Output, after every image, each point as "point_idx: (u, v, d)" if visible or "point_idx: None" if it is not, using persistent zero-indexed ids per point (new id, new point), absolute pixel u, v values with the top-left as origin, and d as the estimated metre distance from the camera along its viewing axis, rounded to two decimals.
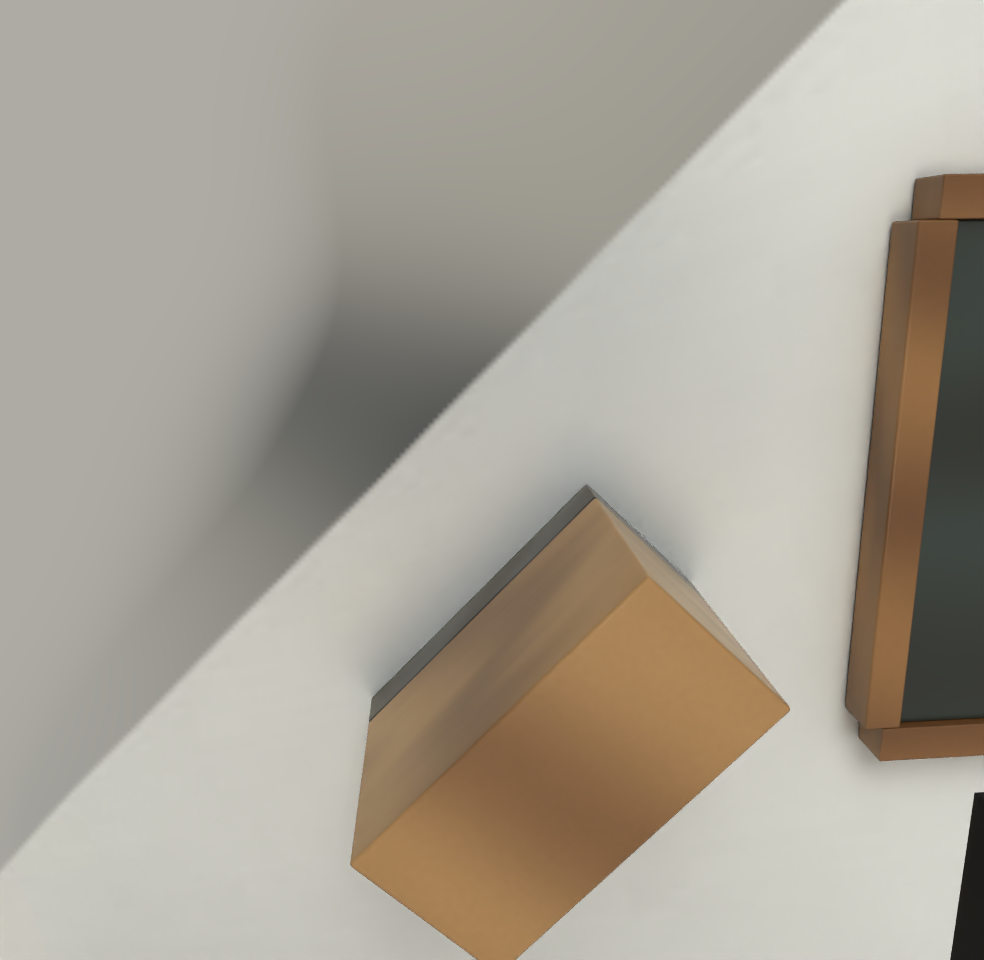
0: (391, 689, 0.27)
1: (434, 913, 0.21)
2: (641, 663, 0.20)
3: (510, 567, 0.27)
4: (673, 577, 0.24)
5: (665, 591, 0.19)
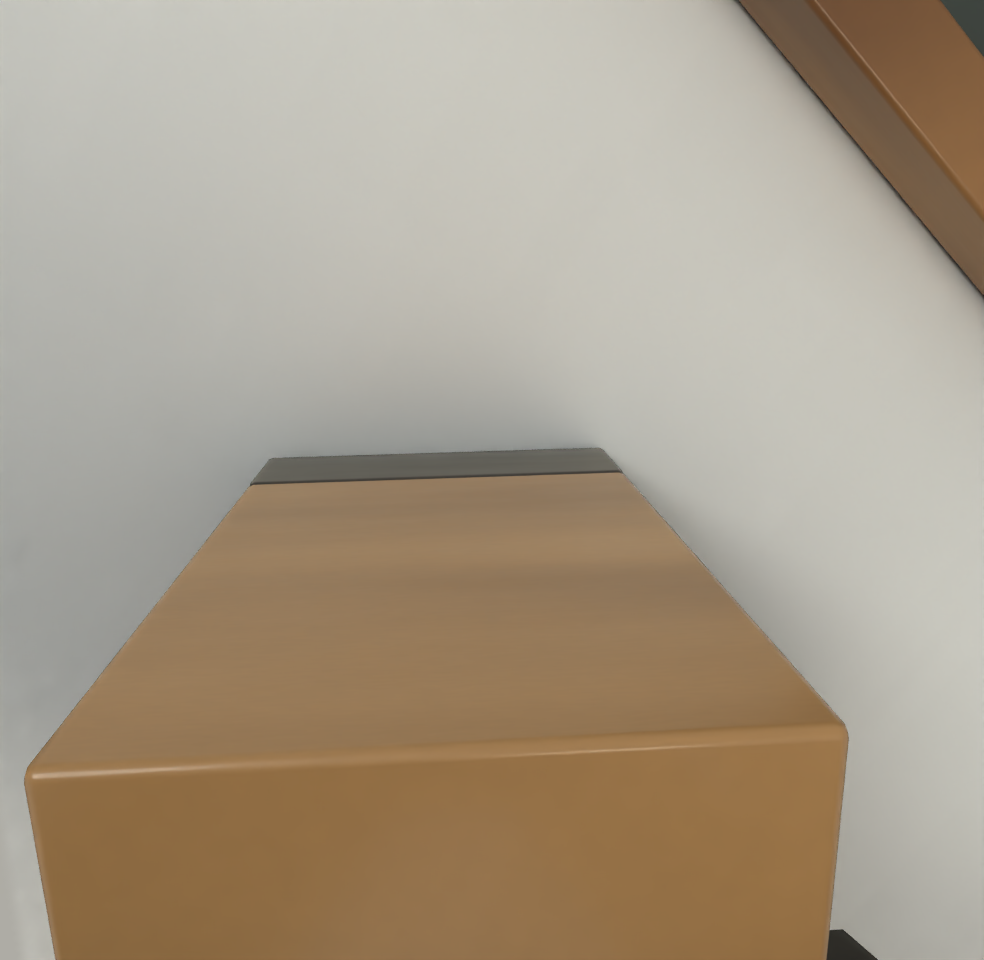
0: None
1: None
2: None
3: None
4: (451, 522, 0.09)
5: (126, 759, 0.05)
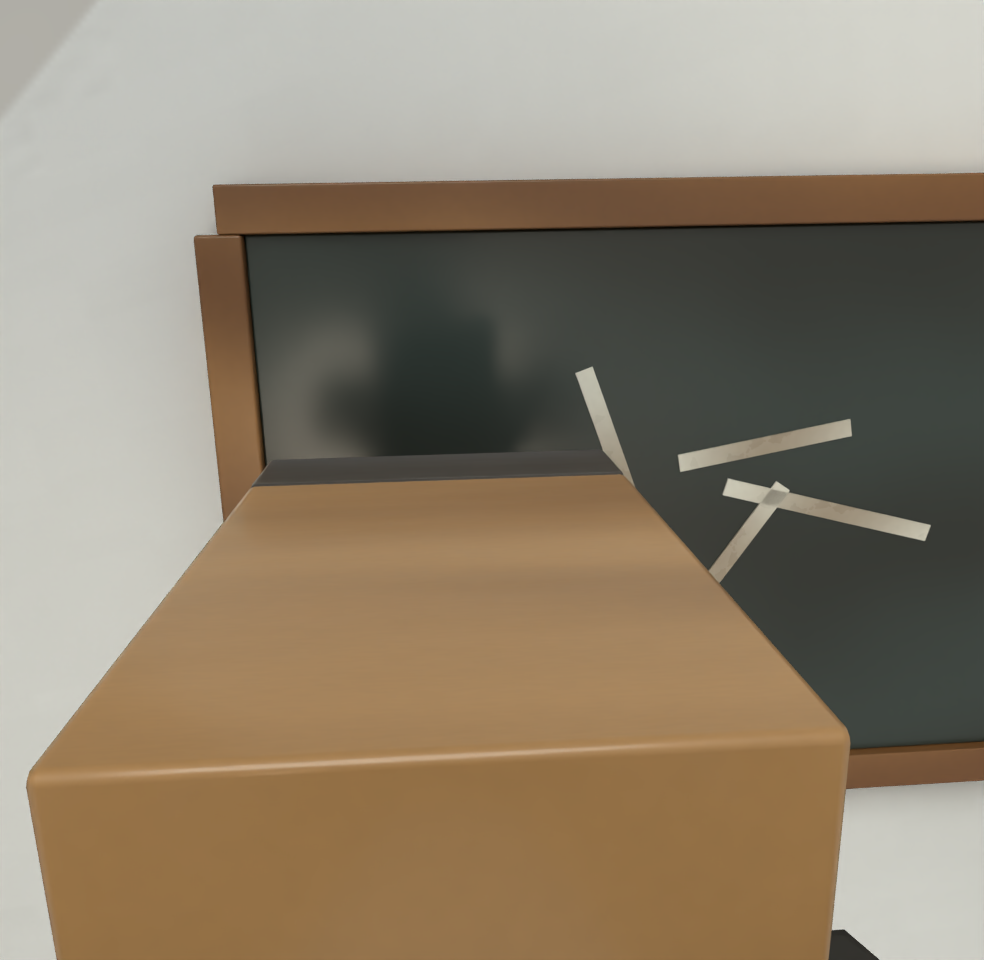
0: None
1: None
2: None
3: None
4: (452, 524, 0.09)
5: (127, 763, 0.05)
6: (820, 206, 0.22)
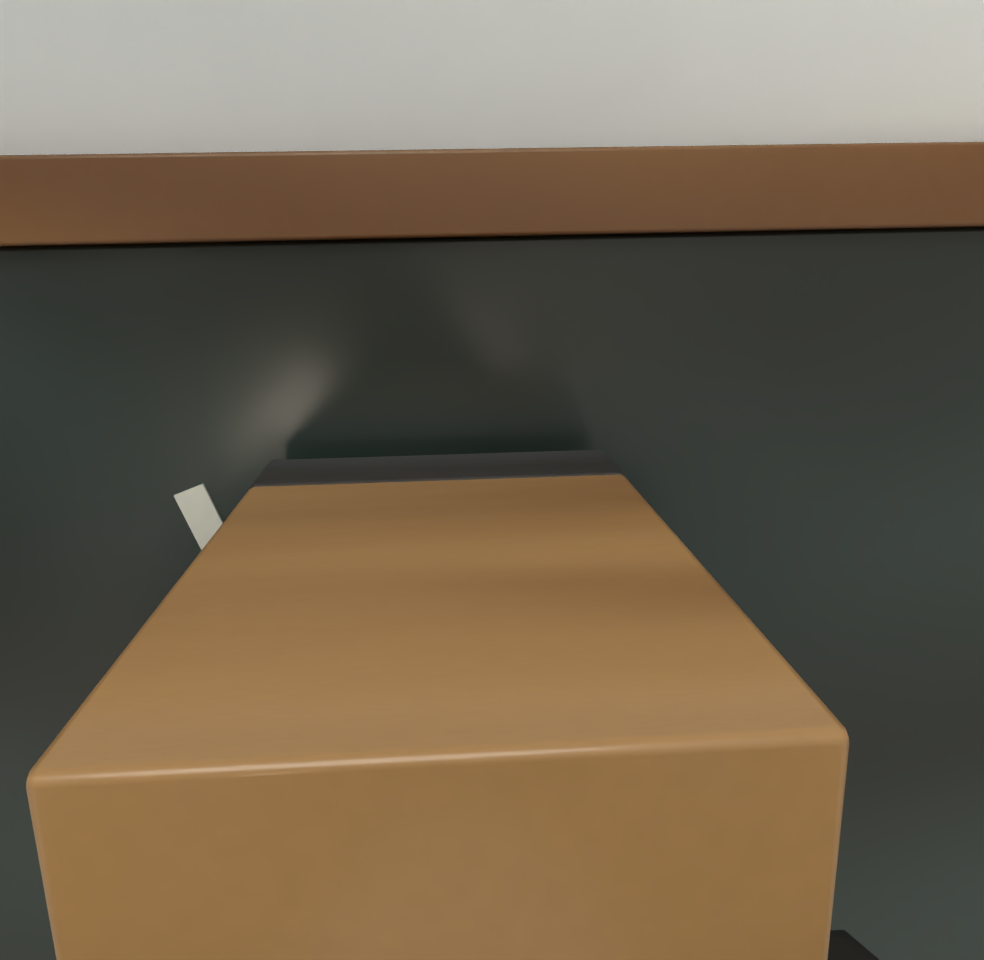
0: None
1: None
2: None
3: None
4: (452, 524, 0.09)
5: (127, 763, 0.05)
6: (584, 203, 0.12)
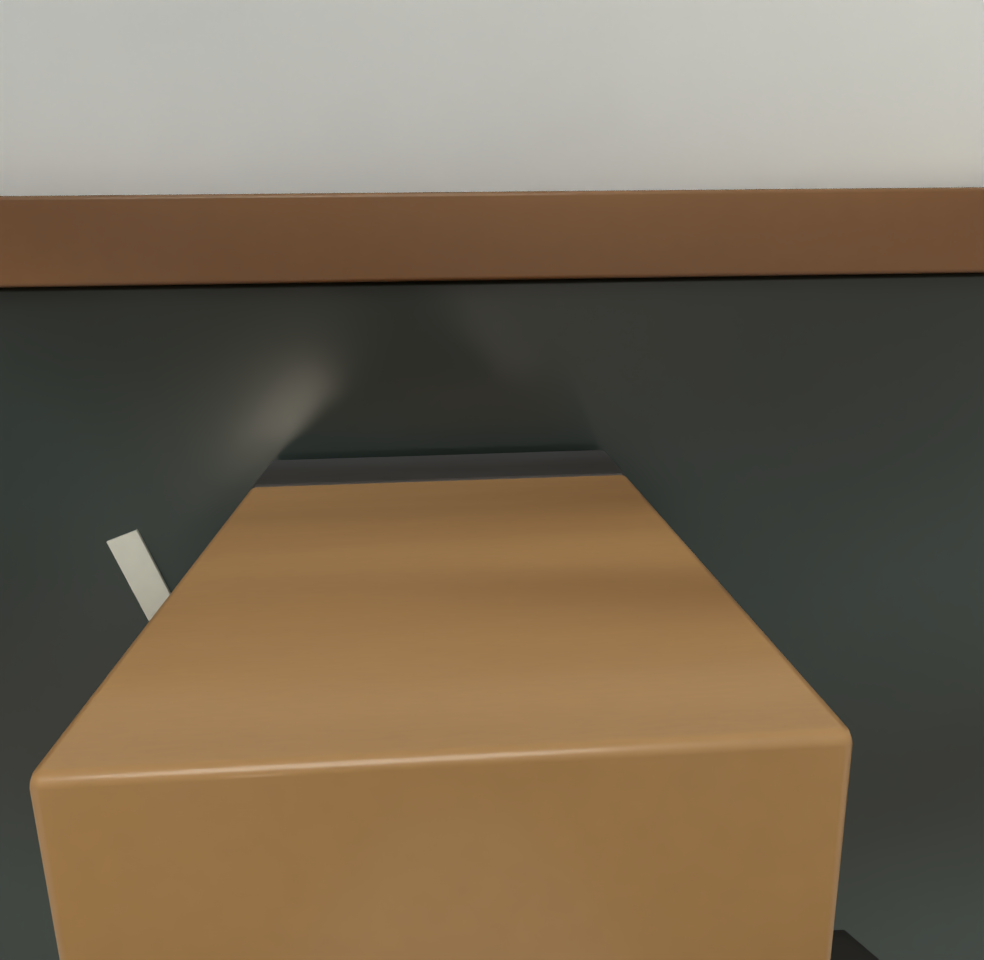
0: None
1: None
2: None
3: None
4: (454, 525, 0.09)
5: (131, 764, 0.05)
6: (525, 248, 0.12)
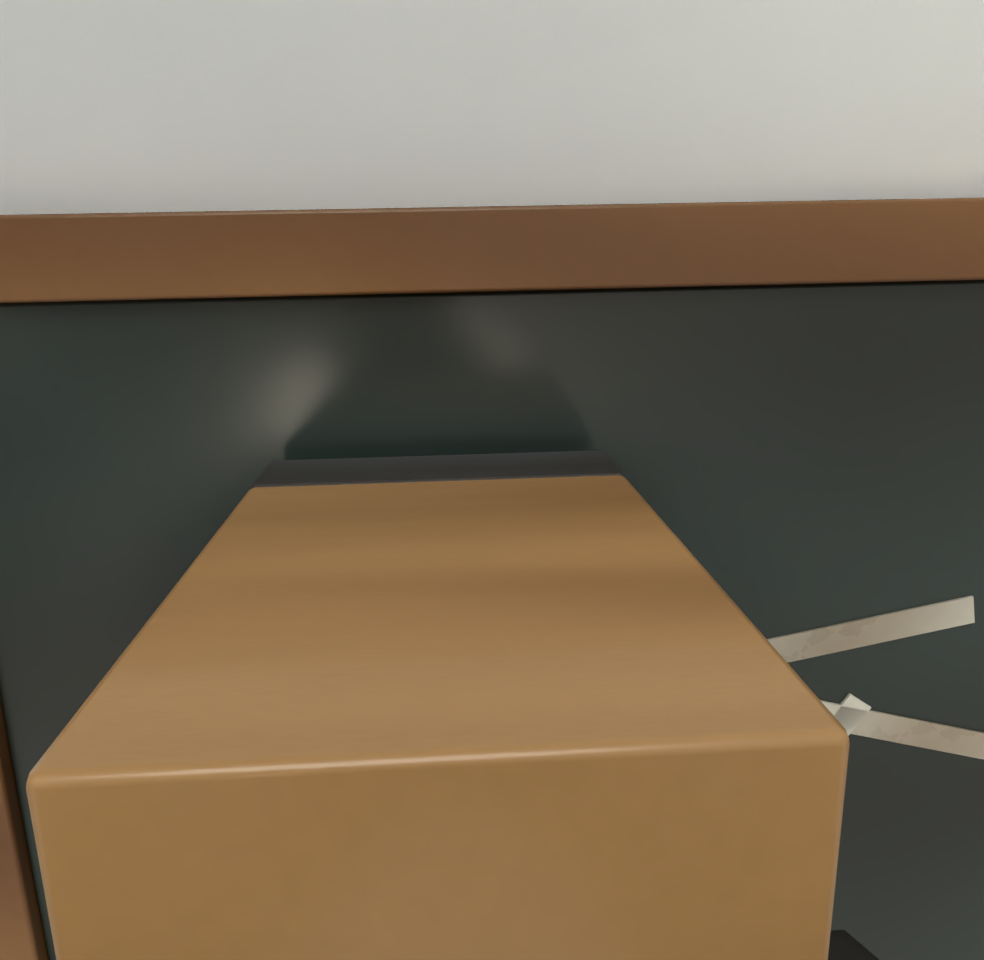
0: None
1: None
2: None
3: None
4: (452, 525, 0.09)
5: (127, 765, 0.05)
6: (938, 251, 0.13)
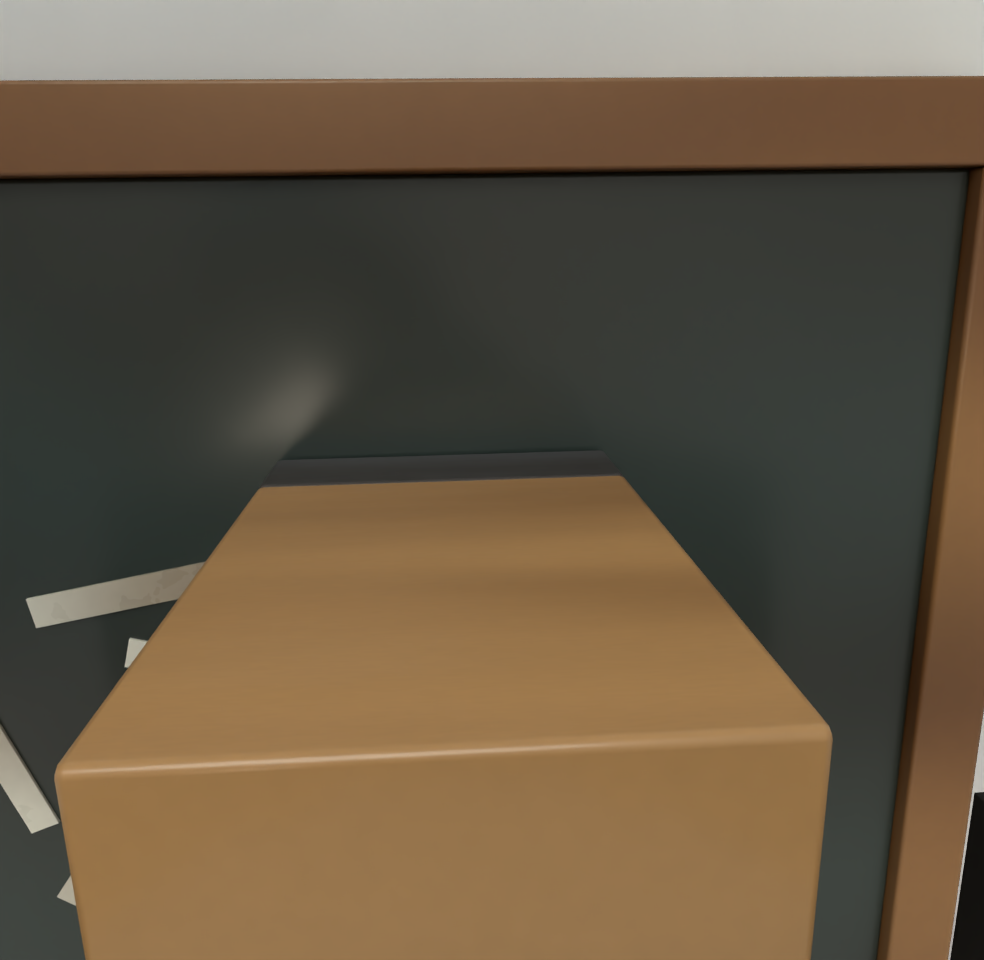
0: None
1: None
2: None
3: None
4: (455, 526, 0.10)
5: (149, 757, 0.05)
6: (205, 140, 0.12)
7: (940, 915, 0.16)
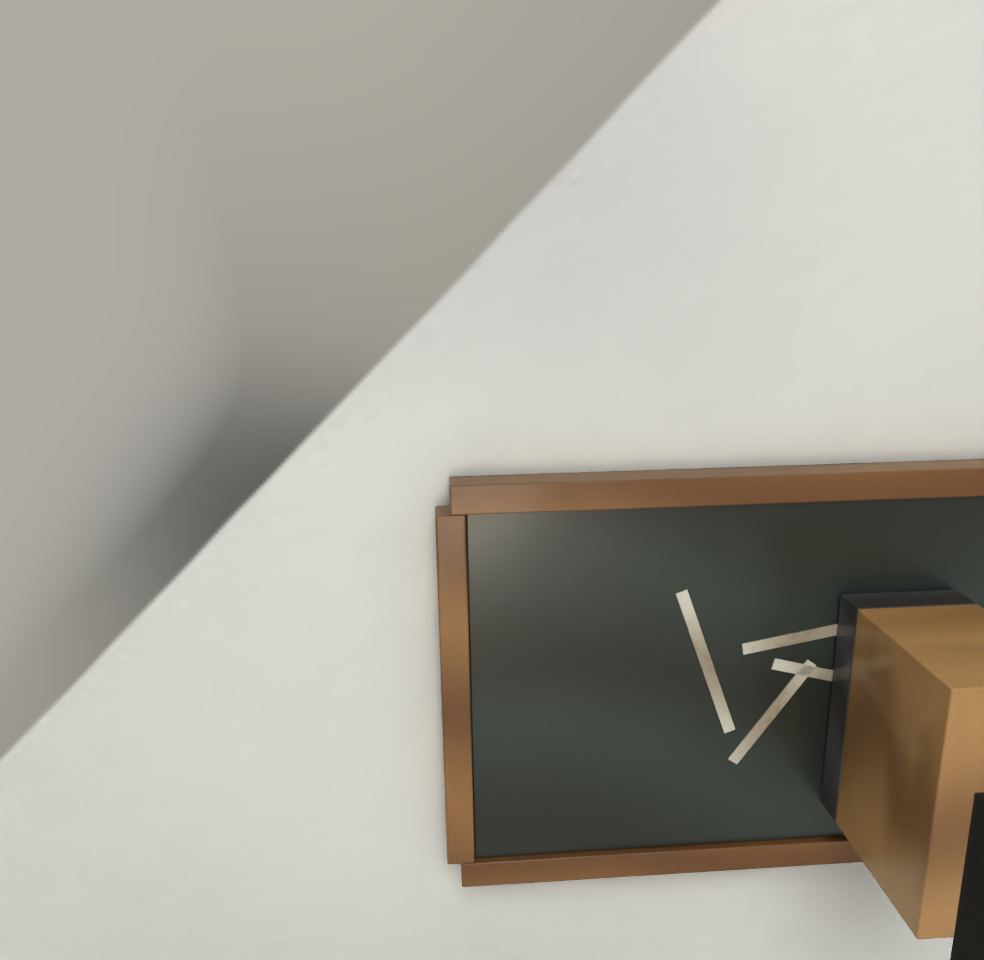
0: (830, 792, 0.37)
1: None
2: None
3: (839, 676, 0.36)
4: (950, 627, 0.32)
5: (967, 687, 0.28)
6: (838, 491, 0.34)
7: None
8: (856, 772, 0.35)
